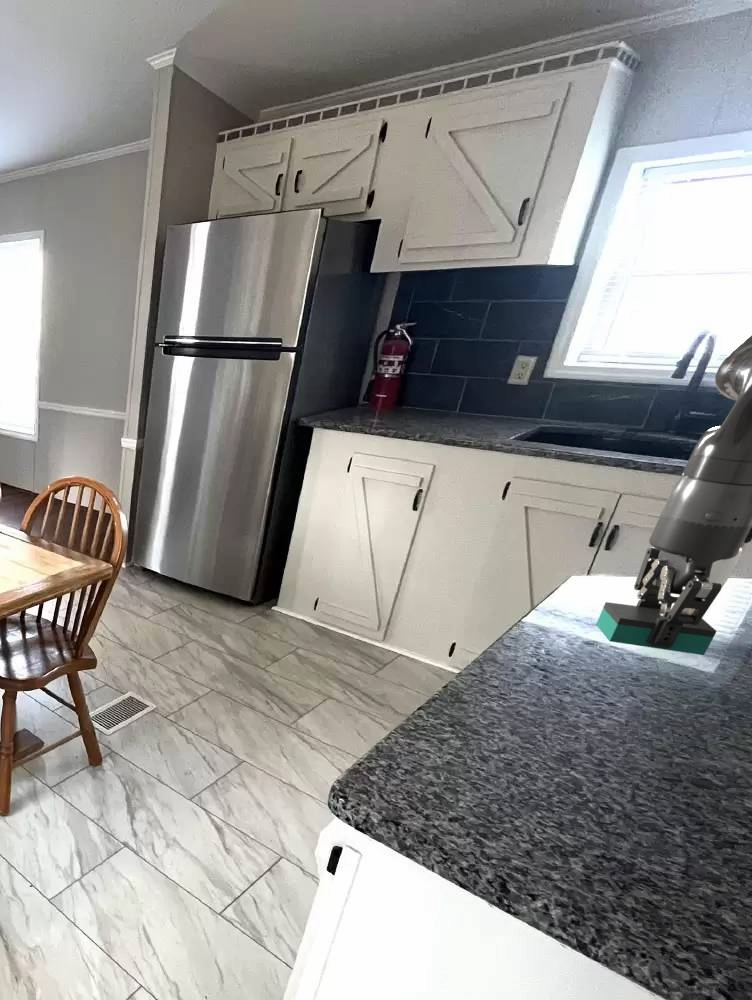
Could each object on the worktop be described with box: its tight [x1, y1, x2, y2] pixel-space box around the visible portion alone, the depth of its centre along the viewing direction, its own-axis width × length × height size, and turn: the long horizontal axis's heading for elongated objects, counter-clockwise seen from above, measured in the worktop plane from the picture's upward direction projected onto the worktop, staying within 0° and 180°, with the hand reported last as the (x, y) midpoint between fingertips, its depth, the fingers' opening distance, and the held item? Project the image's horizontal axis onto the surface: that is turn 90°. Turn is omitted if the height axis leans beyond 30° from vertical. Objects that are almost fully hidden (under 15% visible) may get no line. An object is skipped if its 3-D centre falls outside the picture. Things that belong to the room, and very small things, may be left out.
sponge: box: [595, 601, 717, 656], centre depth 84 cm, size 9×6×4 cm, turn 62°
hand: (648, 635), depth 84 cm, fingers closed on sponge, 5 cm apart
